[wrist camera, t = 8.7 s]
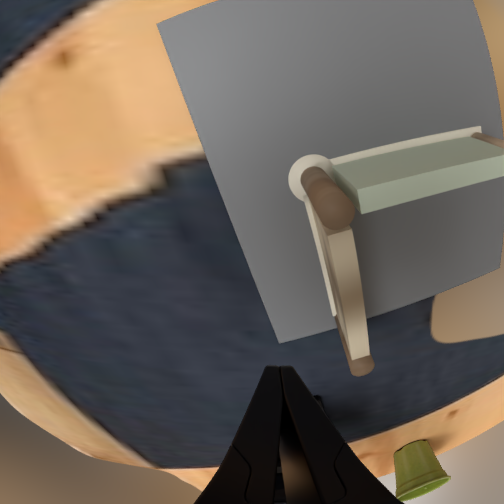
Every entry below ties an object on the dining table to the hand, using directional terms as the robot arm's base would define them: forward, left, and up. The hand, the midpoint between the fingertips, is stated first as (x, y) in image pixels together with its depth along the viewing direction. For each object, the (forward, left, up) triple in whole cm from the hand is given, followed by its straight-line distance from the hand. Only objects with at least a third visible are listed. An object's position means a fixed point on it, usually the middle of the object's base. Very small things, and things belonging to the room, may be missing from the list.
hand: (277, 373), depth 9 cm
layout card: (+2, -9, -12) cm, 15 cm away
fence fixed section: (-3, -4, -11) cm, 12 cm away
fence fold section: (+2, -11, -11) cm, 15 cm away
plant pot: (-44, -12, -12) cm, 47 cm away
